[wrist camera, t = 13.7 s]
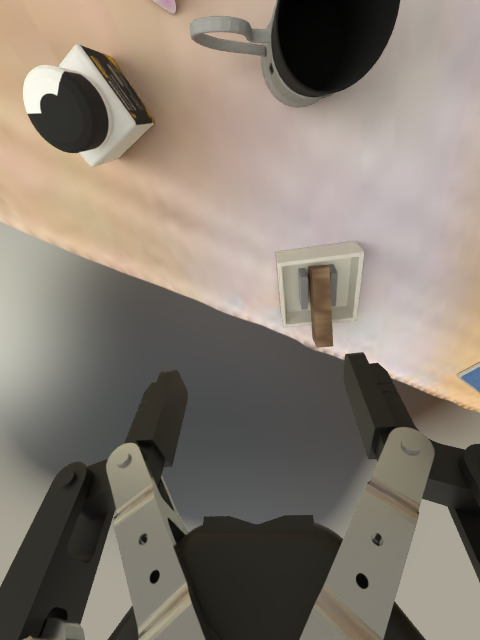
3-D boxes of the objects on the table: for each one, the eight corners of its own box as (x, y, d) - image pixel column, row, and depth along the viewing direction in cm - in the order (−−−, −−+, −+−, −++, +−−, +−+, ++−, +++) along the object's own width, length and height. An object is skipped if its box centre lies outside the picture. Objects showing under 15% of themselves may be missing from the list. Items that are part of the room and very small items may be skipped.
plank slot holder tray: (355, 240, 41) (364, 252, 37) (349, 306, 48) (356, 320, 45) (275, 251, 42) (277, 263, 39) (280, 313, 49) (282, 327, 46)
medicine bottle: (156, 122, 33) (116, 126, 23) (117, 159, 35) (67, 177, 26) (110, 54, 29) (40, 27, 20) (70, 101, 32) (-8, 97, 22)
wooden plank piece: (327, 336, 46) (323, 264, 42) (333, 346, 41) (329, 266, 38) (312, 337, 46) (307, 266, 43) (316, 347, 42) (312, 269, 39)
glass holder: (336, 106, 31) (385, 104, 19) (213, 108, 32) (188, 107, 20) (355, -10, 26) (439, -113, 14) (207, -6, 26) (167, -100, 15)
